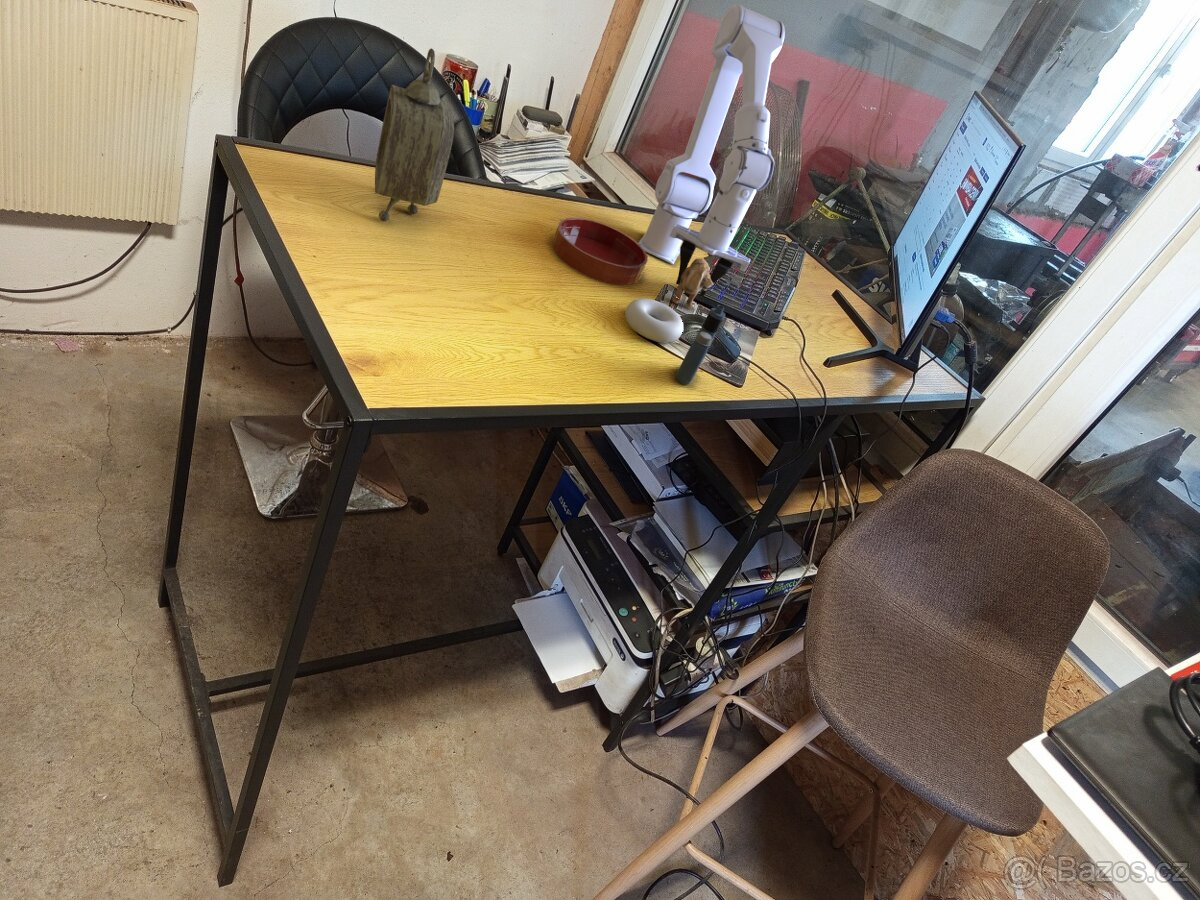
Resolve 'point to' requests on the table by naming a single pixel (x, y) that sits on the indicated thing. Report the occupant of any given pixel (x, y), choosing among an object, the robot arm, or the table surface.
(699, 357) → the vaping device
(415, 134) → the wooden cowbell
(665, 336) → the donut
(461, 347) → the table surface
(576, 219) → the bowl
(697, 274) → the lion figurine
